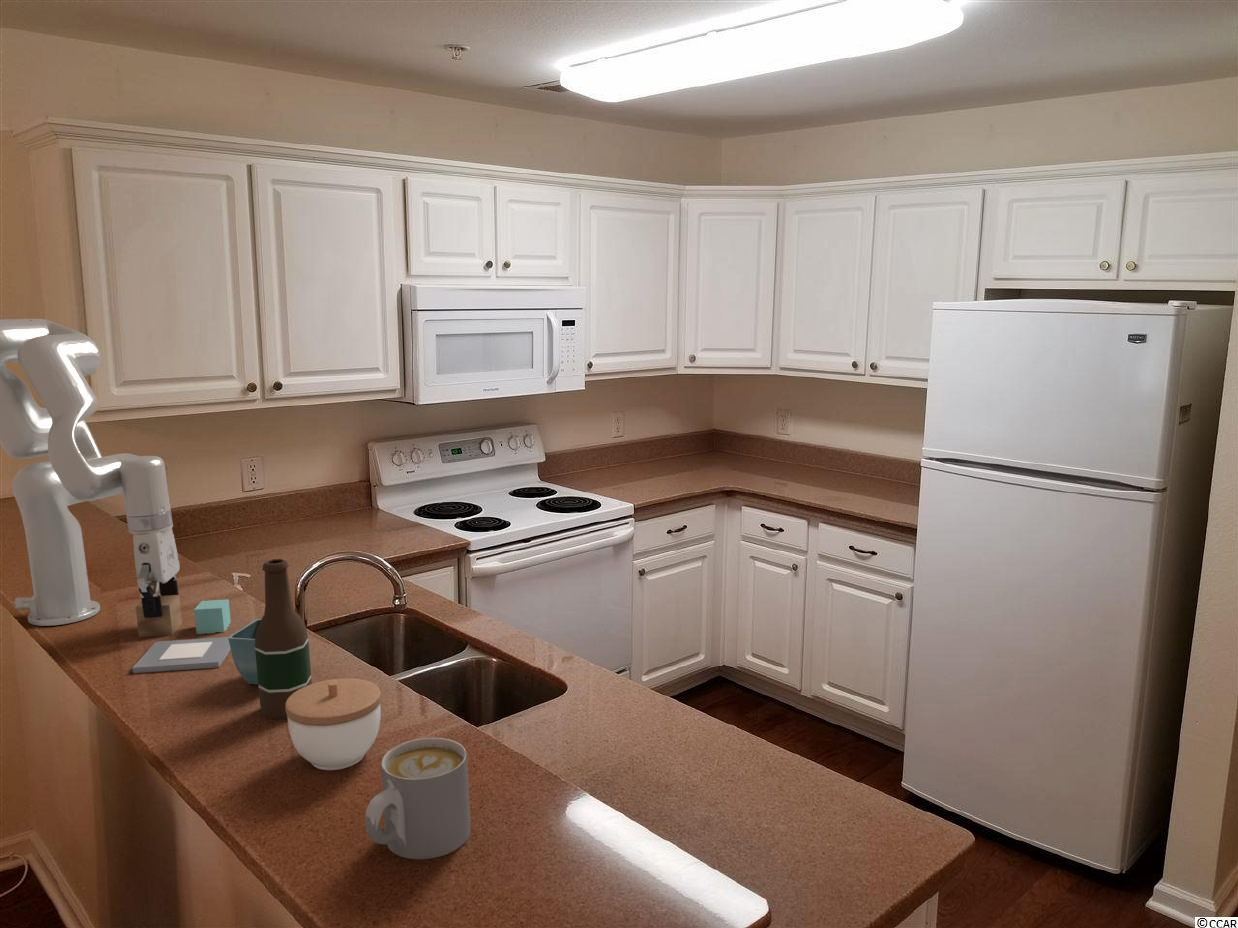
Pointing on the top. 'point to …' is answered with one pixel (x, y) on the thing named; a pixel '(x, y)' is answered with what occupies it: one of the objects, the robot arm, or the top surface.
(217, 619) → the teal block
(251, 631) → the flower pot
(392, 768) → the coffee mug
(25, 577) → the top surface
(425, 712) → the top surface
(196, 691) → the top surface
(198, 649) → the pad
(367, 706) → the lidded bowl
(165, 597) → the walnut block
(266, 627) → the beer bottle
